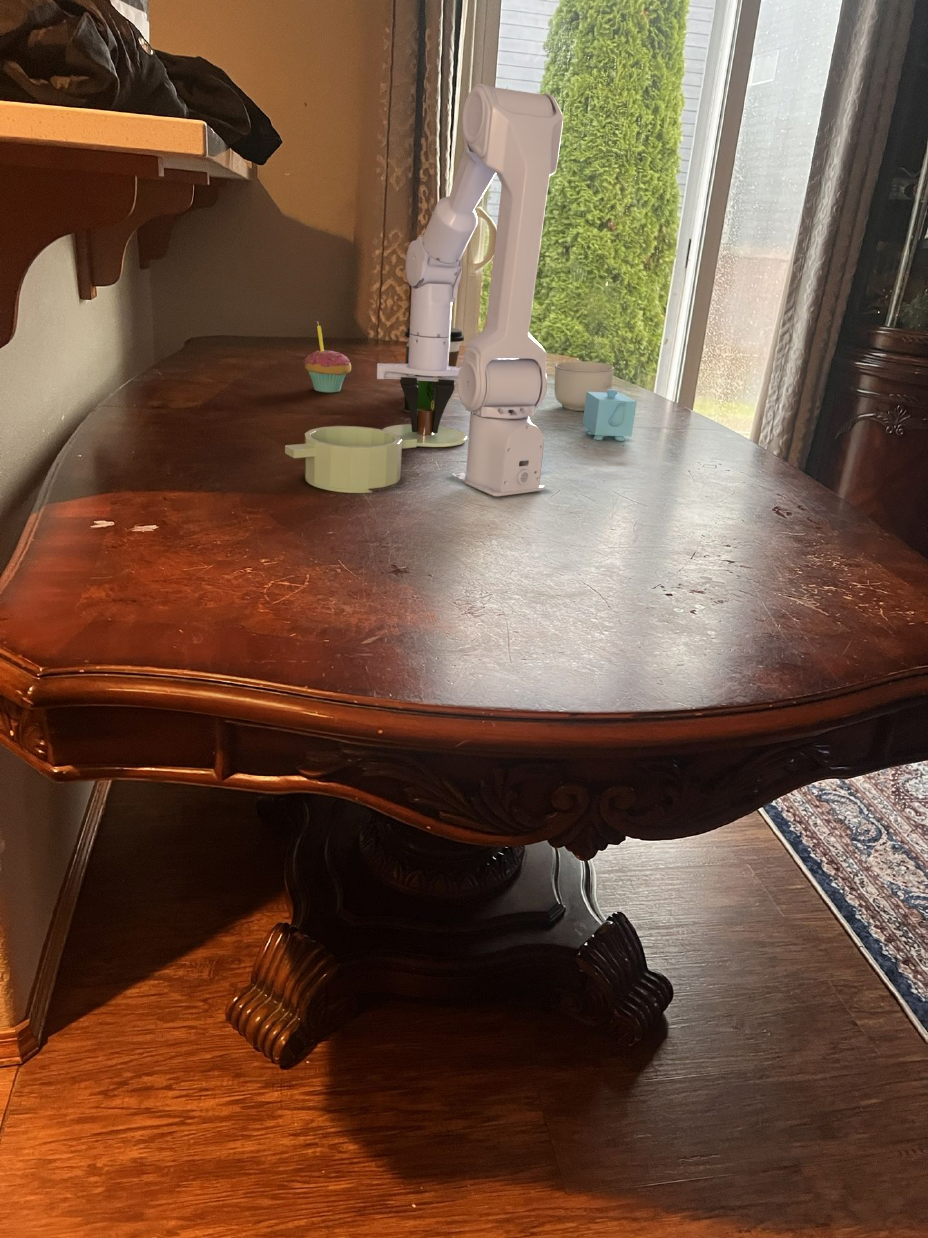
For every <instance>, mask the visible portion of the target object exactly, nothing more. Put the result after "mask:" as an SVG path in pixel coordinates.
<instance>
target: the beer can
mask: <svg viewBox="0 0 928 1238" xmlns="http://www.w3.org/2000/svg"><path fill="white" fill-rule="evenodd" d="M408 360H409V338H407V343H406V345H405V360H404V361H405V362H404V364H408ZM415 376H421V375H415ZM421 377H437V376H421ZM417 382H418V388H419V390H418V403H417V409H419V408H429V409H433V410H434V400H435V382H436V381H418V380H417ZM402 407H403V411H404V412H407V413H410V411H409V407H408V404H407V400H406V397H405V395H404V394H403V406H402Z"/></svg>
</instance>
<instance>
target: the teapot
mask: <svg viewBox="0 0 928 1238" xmlns="http://www.w3.org/2000/svg"><path fill="white" fill-rule="evenodd" d="M637 403H638V402H637V401H636V400H634V399H633V398H631V397H630V396H628V395H626V394H625V393H621V392H618V390H617V389H615V388H612V389H607V393H605V392H587V394H586V402H585V409H584V411H583V418H582V426H583V428H585V429H586V430H587V432H586V434H587V435H592V436H593V435H594V437H593V440H597V441H603V440H604V437H605V436H606V437H608V436H609V437H614V439H615V440H616V441H619V442H623V441H625V438H624V437H628V438H629V437H630V438H631V437H632V436H633V429H634V422H635V416H636V409H637Z"/></svg>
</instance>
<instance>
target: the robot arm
mask: <svg viewBox="0 0 928 1238" xmlns="http://www.w3.org/2000/svg"><path fill="white" fill-rule="evenodd" d="M462 109H463V110H462V117H461V118H462V119H461V124H462V129H461V130H462V140H463V146H464V148H463V149H464V150H463V153H462V155H461V159H460V162H459V165H458V168H457V171H456V174H455V178H454V181H453V184H452V187H451V190H450V192H449V196H444V197H442V198H440V199H439V200H438V201H437V203H436V205H435V207H434V209H433V211H432V214H431V216H430V219H429V221H428V224H427V226H426V228H425V230H424V233H423V235H422V236H417V238H416V239H415V240H412V241H411V242H410V243H409V245H408V248H407V251H406V256H405V266H404V268H405V277H406V280H407V283H408V285H409V286H410V287H411V293H410V294H411V296H410V318H409V326H410V337H409V338H408V339H409V360H408V364H405V363H379V362H378V363H376V379H377V380H399V383H400V387H401V389H402V392H403V396H404V395H405V397H406V400H407V404H408V407H409V411H410V412H409V416H410V424H411V427H412V432H417V403H418V390H419V388H418V382H417V380H418V381H436V382H435V400H434V417H433V433H438V428H439V426H440V423H441V420H442V417H443V414H444V412H445V410H446V407H447V404H448V403H449V400H450V399H451V397H452V395H453V394H454V391H455V387H456V386H455V384H457V393H458V397H459V400H460V402H461V404H462V405H463V406H464V408H465V411H468V412H470V416H469V428H468V429H469V431H468V444H467V454H466V455H467V456H466V467H465V468H466V469H465V472H458V473H452V474H451V476H453V477H455V478H457V479H459V480H461V483H463V484H465V485H467V486H470V487H472V488H474V489H476V490H479V491H481V492H483V493H485V494H488V495H490V496H493V497H496V498H497V497H505V496H511V495H512V496H513V495H521V494H526V493H534V492H542V491H544V490H545V485H542V484H541V475H542V466H543V457H544V447H545V441H544V440H545V439H544V435H543V433H542V430H541V429H540V428H539V427H538V426H537V425H535V424H533V422H532V421H531V419H530V417H534V416H535V410H537V409H538V408H539V407H541V405H542V403H543V401H544V399H545V397H546V395H547V392H548V391H547V390H548V375H547V355H548V353H547V351H546V350H545V348H544V347H543V346H542V344H541V343H539V342H538V341H537V340H536V339H535V338H534V337H533V335H532V334H531V333H530V326H531V319H532V312H533V311H532V310H533V304H534V296H535V288H536V281H537V273H538V266H539V258H540V252H541V251H540V250H541V243H542V236H543V230H544V229H543V228H544V221H545V213H546V207H547V199H548V190H549V183H550V177H551V176H552V175H554V174H556V173H557V167H558V162H559V161H558V160H559V153H560V147H561V139H562V133H563V124H564V115H563V113H562V110H561V108H560V106H559V104H558V101H557V100H556V98H555V97H554V95H552V94H550V93H536V92H528V91H522V90H521V91H520V90H515V89H510V88H508V89H507V88H503V87H496V86H489V85H487V84H485V83H477V84H476V85H474V86H473V87H472V89H471V90H470V92H469V93H468V95H467V96H466V99H465V102H464V105H463V108H462ZM495 176H497V178H498V179H499V182H500V184H501V188H500V196H499V198H500V199H499V207H498V214H497V224H496V232H495V242H494V251H493V259H492V269H491V277H490V278H491V279H490V287H489V294H488V295H489V296H488V304H487V314H486V323H485V328H484V329H483V330H481V331H480V332H479V333H478V334H477V335H475V336H474V337H473V338H472V339H471V340H469V341H468V342H467V343H466V344H465V350H464V355H463V359H462V363H461V365H460V367H458V366H456V367H450V366H448V361H449V345H450V330H451V328H452V313H453V312H452V310H453V303H455V302H456V299H457V296H458V295H457V294H458V288H459V285H460V282H461V279H462V274H463V265H462V257H463V255H464V253H465V251H466V248H467V247H468V246H469V245H468V244H469V242H470V241H471V239H472V236H473V234H474V232H475V230H476V228H477V226H478V223H479V221H478V215H477V212H476V208H477V207H478V205H479V203H480V201H481V200H482V198H483V197H484V195H485V193H486V191H487V190H488V188H489V186H490V185H491V183H492V182H493V180H494V179H495ZM415 375H421V376H441V377H442V378H439V377H421V376H415Z"/></svg>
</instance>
